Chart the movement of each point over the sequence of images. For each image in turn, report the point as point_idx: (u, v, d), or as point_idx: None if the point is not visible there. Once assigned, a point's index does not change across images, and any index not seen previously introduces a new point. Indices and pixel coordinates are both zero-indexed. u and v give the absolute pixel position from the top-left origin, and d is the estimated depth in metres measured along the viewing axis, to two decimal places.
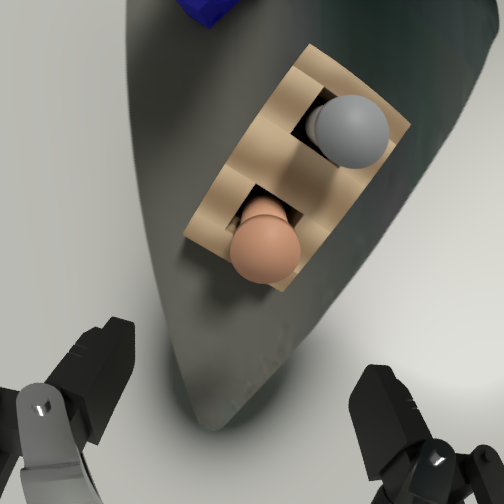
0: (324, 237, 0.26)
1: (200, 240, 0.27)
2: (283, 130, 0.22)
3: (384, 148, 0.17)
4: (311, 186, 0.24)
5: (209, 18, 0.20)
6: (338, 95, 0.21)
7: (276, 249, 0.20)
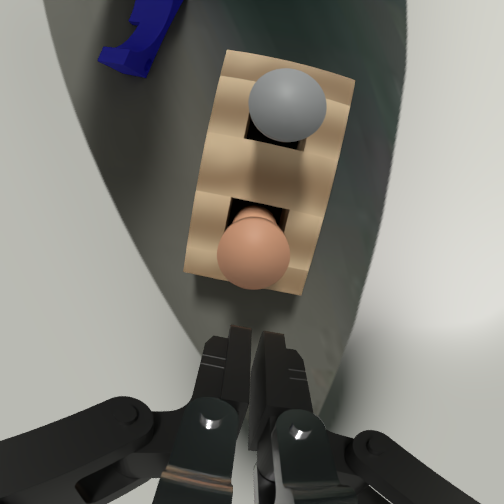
0: (319, 224, 0.25)
1: (202, 271, 0.27)
2: (236, 137, 0.23)
3: (324, 106, 0.16)
4: (285, 179, 0.24)
5: (139, 68, 0.23)
6: None
7: (262, 248, 0.19)
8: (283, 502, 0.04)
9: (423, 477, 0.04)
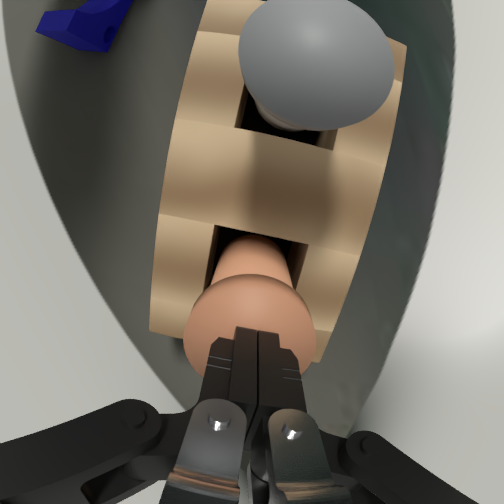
0: (352, 266, 0.16)
1: (175, 331, 0.17)
2: (222, 126, 0.14)
3: (390, 65, 0.07)
4: (302, 195, 0.15)
5: (95, 37, 0.14)
6: None
7: None
8: (277, 503, 0.04)
9: (418, 477, 0.04)
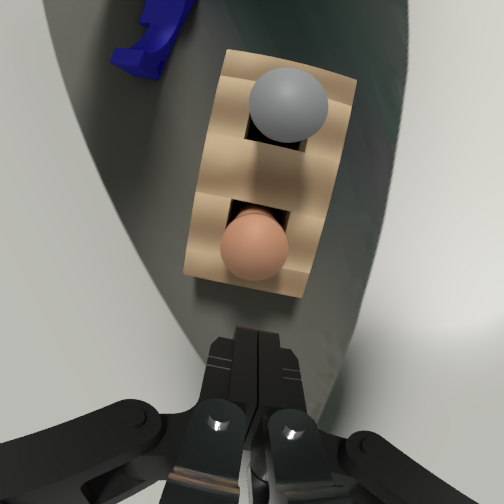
0: (320, 226, 0.25)
1: (201, 273, 0.26)
2: (236, 138, 0.23)
3: (326, 106, 0.16)
4: (286, 180, 0.24)
5: (152, 70, 0.23)
6: None
7: (262, 241, 0.21)
8: (277, 503, 0.04)
9: (418, 477, 0.04)
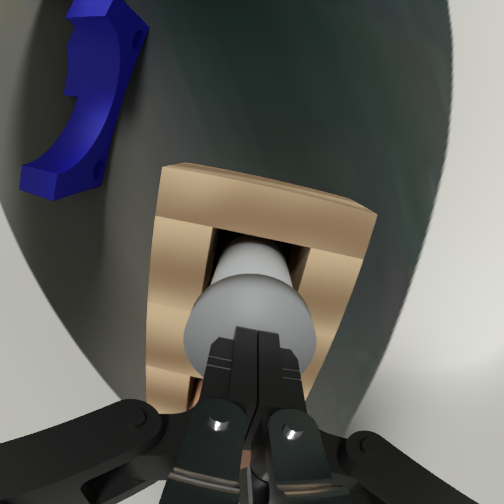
0: None
1: None
2: (188, 311, 0.16)
3: (312, 348, 0.10)
4: None
5: (85, 183, 0.16)
6: (240, 230, 0.15)
7: None
8: (277, 503, 0.04)
9: (418, 477, 0.04)
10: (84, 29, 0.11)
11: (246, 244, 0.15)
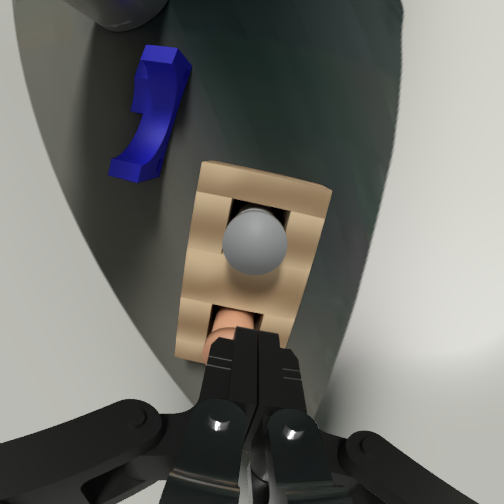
0: (290, 325, 0.28)
1: (190, 357, 0.30)
2: (214, 253, 0.26)
3: (285, 246, 0.22)
4: (259, 289, 0.27)
5: (152, 173, 0.26)
6: (248, 200, 0.24)
7: None
8: (277, 503, 0.04)
9: (418, 477, 0.04)
10: (152, 68, 0.21)
11: (252, 205, 0.27)
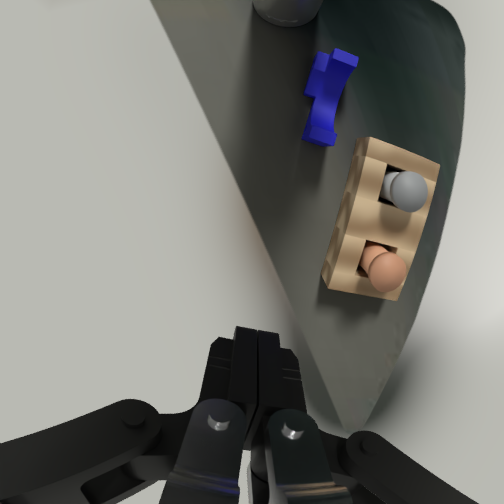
0: (412, 256, 0.36)
1: (340, 287, 0.38)
2: (373, 201, 0.34)
3: (426, 194, 0.30)
4: (397, 229, 0.35)
5: None
6: (396, 166, 0.33)
7: (394, 269, 0.33)
8: (277, 503, 0.04)
9: (418, 477, 0.04)
10: (334, 65, 0.30)
11: (389, 171, 0.35)
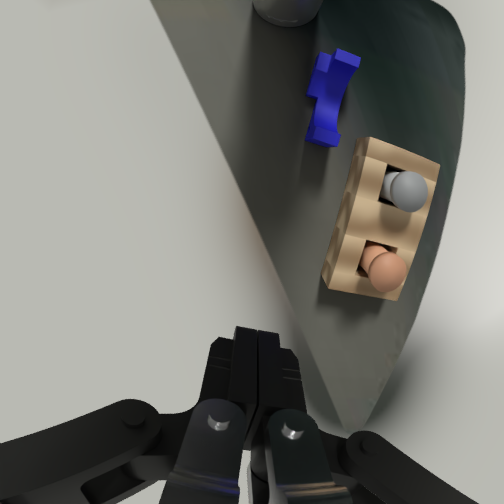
0: (412, 256, 0.36)
1: (340, 287, 0.38)
2: (373, 201, 0.34)
3: (426, 194, 0.30)
4: (397, 228, 0.35)
5: None
6: (396, 165, 0.33)
7: (394, 269, 0.33)
8: (277, 503, 0.04)
9: (419, 477, 0.04)
10: (336, 66, 0.30)
11: (390, 171, 0.35)
